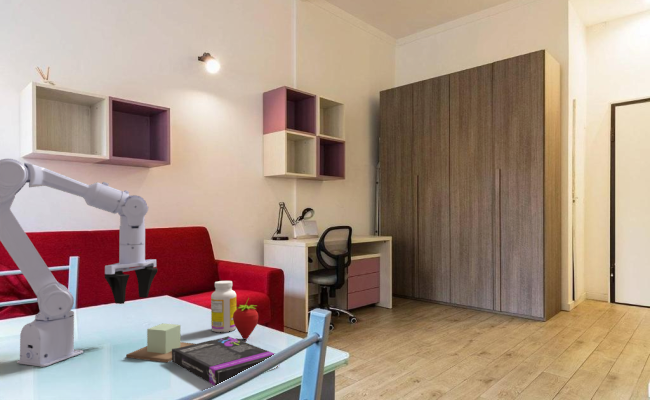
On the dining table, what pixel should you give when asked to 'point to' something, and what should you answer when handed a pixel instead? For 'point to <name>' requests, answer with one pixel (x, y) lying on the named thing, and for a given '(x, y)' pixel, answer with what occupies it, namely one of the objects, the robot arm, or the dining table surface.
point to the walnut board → (154, 354)
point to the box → (219, 358)
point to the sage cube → (163, 338)
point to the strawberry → (245, 319)
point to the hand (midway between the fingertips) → (132, 300)
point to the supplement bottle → (223, 307)
